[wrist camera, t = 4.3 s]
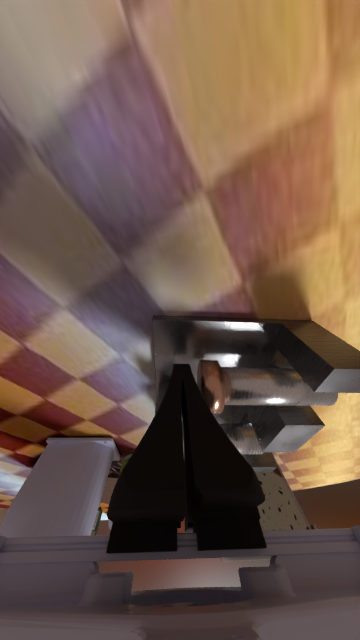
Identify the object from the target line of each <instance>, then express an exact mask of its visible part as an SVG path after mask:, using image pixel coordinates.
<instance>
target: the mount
mask: <svg viewBox="0 0 360 640" xmlns="http://www.w3.org/2000/svg"><path fill="white" fill-rule="evenodd" d="M152 321H153V338H154V356H155V373H156V391H157V395H158V388H159V386H160V385H161V384H162V383H164V382H168V381H170V378H171V375H172V370H173V364H189V365H190V367H191V370H192V373H193V376H194V378H195V381H196V383H197V368H198V363H199V360H217V361H218V362H219V364H220V366H221V367H251V368H294V369H295V370H296V372H297V373H298V374H299V375H300V376H301V377H302V379H303V380H304V381H305V382H306V383H307V384H308V385H309V387H310V388H311V389H312V390H313V391H314V392H339V393H360V351H359V350H357V349H356V348H354V347H353V346H351V345H349V344H348V343H346V342H345V341H343V340H342V339H340V338H339V337H337V336H335V335H334V334H332V333H331V332H329V331H328V330H326V329H325V328H323V327H321V326H320V325H318V324H317V323H315V322H314V321H303V320H273V319H242V318H212V317H182V316H153V319H152ZM212 414H213V415H214V417H215V418H216V420H217V422H218V423H251V424H252V427H253V429H254V432H255V434H256V437H257V439H258V442H259V445H260V447H261V450H262V452H264V453H263V454H242V456H243V457H244V458H245V459H246V461H247V462H248V463H249V464H250V465H251V467H252V468H253V469H254V471H255V473H271V472H272V471H273V470H275V469H276V468H277V465H276V463H275V460H274V458H273V456H272V453H271V452H295V451H296V450H298V449H299V448H300V447H301V446H302V445H303V444H304V443H306V442H307V441H308V440H309V439H310V438H311V437H312V436H314V435H315V434H316V433H317V432H318V431H319V430H321V429H322V428H323V427H324V426H325V425H324V423H323V422H322V421H321V419H320V418H319V417H318V416H317V414H316V413H315V412H314V410H313V409H312V408H311V406H274V405H224V409H223V412H222V413H212Z"/></svg>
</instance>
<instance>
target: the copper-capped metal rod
mask: <svg viewBox="0 0 360 640" xmlns="http://www.w3.org/2000/svg"><path fill="white" fill-rule="evenodd" d="M197 385H198V388H199V390H200V392H201V394H202V396H203V398H204V400H205V402H206V403H207V405H208V407H209V409H210V410H211V412H212V413H222V412H223V409H224V405H274V406H331V405H333V404H334V403H335V402H336V401H337V398H338V392H314V391H313V390H312V389H311V388H310V387H309V385H308V384H307V383H306V382H305V381H304V380H303V379H302V377H301V376H300V375H299V374H298V373H297V372H296V370H295V369H294V368H251V367H221V366H220V364H219V362H218V361H217V360H199V363H198V368H197Z"/></svg>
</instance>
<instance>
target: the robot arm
mask: <svg viewBox="0 0 360 640" xmlns="http://www.w3.org/2000/svg"><path fill="white" fill-rule="evenodd" d="M182 419H183V431H182ZM183 432H184V450H183ZM46 442H47V443H48V445H47V446H46V448H45V450H44V451H43V453H42V455H41V456H40V458H39V459H38V461H37V463H36V464H35V466H34V468H33V469H32V471H31V472H30V474H29V476H28V477H27V479H26V481H25V482H24V484H23V486H22V487H21V489H20V490H19V492H18V494H17V495H16V497H15V499H14V500H13V502H12V504H11V505H10V507H9V509H8V511H7V514H6V516H5V518H4V520H3V523H2V526H1V529H0V640H360V526H355V527H352V528H345V529H309V530H273V531H262V528H261V525H260V521H259V519H261V518H260V513H259V510H258V507H257V506H259V505H261V504H262V503H263V502H264V501H265V496H264V493H263V490H262V487H261V485H260V482H259V480H258V478H257V476H256V473H255V471H254V469H253V468H252V467H251V465H250V464H249V463H248V462H247V461H246V459H245V458H244V457H243V456H242V454H241V453H240V452H239V451H238V449H237V448H236V447H235V445H234V444H233V443H232V441H231V440H230V439H229V437H228V436H227V435H226V433H225V432H224V430H223V429H222V427H221V426H220V425H219V423H218V422H217V420H216V418H215V417H214V415H213V414H212V412H211V410H210V409H209V407H208V405H207V403H206V402H205V400H204V398H203V396H202V394H201V392H200V390H199V388H198V385H197V383H196V381H195V378H194V376H193V373H192V370H191V367H190V365H189V364H173V370H172V375H171V378H170V381H169V384H168V387H167V390H166V392H165V395H164V397H163V400H162V402H161V404H160V406H159V409H158V411H157V413H156V415H155V417H154V418H153V420H152V422H151V424H150V426H149V428H148V429H147V431H146V433H145V435H144V436H143V438H142V440H141V441H140V443H139V445H138V446H137V448H136V449H135V451H134V452H133V454H132V455H131V457H130V458H129V460H128V462H127V463H126V465H125V466H124V468H123V469H122V472H121V474H120V476H119V478H118V480H117V483H116V485H115V488H114V490H113V493H112V496H111V500H110V504H109V508H108V512H107V517H108V519H109V520H111V521H112V522H113V523H112V528H111V533H110V535H91V533H92V529H93V526H94V522H95V519H96V515H97V512H98V508H99V505H100V501H101V498H102V494H103V490H104V487H105V484H106V480H107V477H108V473H109V470H110V466H111V463H112V460H120V454H119V452H118V450H117V447H116V445H115V443H114V440H113V439H112V438H48V439H47V441H46ZM184 517H185V532H193V533H177V528H180V527H181V526H180V525H181V521H183V519H184ZM253 556H272V557H271V558H270V565H269V567H243V568H239V570H238V571H239V577H240V582H241V587H202V588H201V587H198V588H172V589H156V590H144V591H131V588H132V581H133V573H132V572H106V573H100V572H99V566H98V563H97V562H107V561H137V560H166V559H192V558H224V557H253Z"/></svg>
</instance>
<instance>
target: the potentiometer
mask: <svg viewBox="0 0 360 640" xmlns="http://www.w3.org/2000/svg"><path fill="white" fill-rule="evenodd" d="M168 384H169V381H168V382H164V383H162V384H161V385H160V386H159V388H158V395H157V404H156V412H155V414H156V413H157V411H158V409H159V406H160V404H161V402H162V400H163V397H164V395H165V392H166V390H167V387H168Z"/></svg>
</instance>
